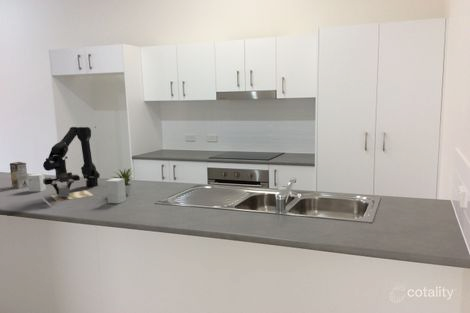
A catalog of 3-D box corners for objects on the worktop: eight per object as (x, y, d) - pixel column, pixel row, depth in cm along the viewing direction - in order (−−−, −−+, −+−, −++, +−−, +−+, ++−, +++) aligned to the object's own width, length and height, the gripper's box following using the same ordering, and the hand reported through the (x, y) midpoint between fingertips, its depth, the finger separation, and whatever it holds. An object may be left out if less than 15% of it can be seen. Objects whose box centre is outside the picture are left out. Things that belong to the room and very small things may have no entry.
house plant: (120, 191, 240) (119, 165, 238) (141, 191, 237) (140, 165, 235) (108, 196, 226) (107, 169, 224) (130, 197, 224) (129, 169, 221)
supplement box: (126, 200, 218) (125, 178, 216) (118, 203, 211) (117, 181, 209) (115, 199, 220) (114, 177, 218) (107, 202, 213) (105, 180, 211)
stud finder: (65, 193, 229) (64, 184, 228) (69, 196, 222) (68, 187, 221) (56, 194, 226) (55, 185, 225) (60, 197, 219) (59, 188, 218)
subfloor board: (85, 191, 239) (85, 190, 239) (93, 196, 227) (93, 195, 226) (50, 197, 228) (50, 195, 227) (57, 202, 215) (57, 200, 215)
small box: (46, 189, 247) (44, 173, 246) (40, 191, 242) (39, 175, 240) (34, 189, 248) (32, 173, 246) (28, 191, 242) (27, 175, 241)
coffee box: (11, 187, 256) (9, 163, 254) (21, 185, 262) (18, 161, 259) (19, 188, 252) (16, 164, 249) (28, 186, 257) (26, 162, 254)
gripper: (45, 171, 209) (48, 199, 212) (81, 167, 220) (83, 194, 223) (41, 168, 218) (44, 195, 221) (76, 164, 229) (78, 190, 232)
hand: (62, 193), depth 224 cm, fingers closed on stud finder, 5 cm apart
